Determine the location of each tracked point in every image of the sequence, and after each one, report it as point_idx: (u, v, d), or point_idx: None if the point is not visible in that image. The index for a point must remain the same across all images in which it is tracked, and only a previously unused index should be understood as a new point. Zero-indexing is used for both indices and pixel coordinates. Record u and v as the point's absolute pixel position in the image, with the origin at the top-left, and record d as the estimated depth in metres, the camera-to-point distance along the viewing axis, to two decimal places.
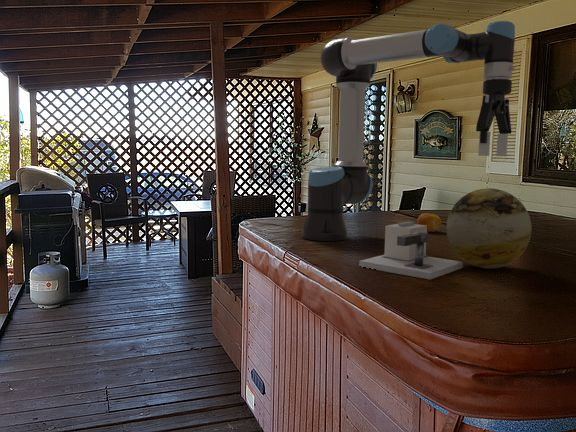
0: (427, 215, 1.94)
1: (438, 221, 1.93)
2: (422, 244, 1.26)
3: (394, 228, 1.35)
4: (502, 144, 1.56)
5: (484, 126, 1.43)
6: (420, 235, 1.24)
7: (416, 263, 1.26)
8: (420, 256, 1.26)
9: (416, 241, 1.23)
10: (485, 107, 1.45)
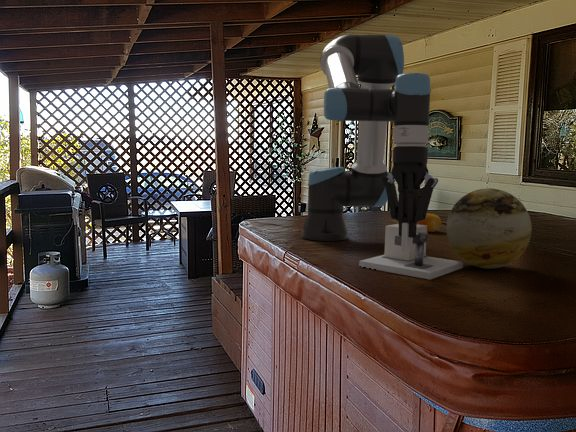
0: (427, 215, 1.94)
1: (438, 221, 1.93)
2: (422, 244, 1.26)
3: (394, 228, 1.35)
4: None
5: (392, 217, 1.21)
6: (419, 235, 1.24)
7: (415, 263, 1.27)
8: (420, 256, 1.26)
9: (415, 241, 1.23)
10: None
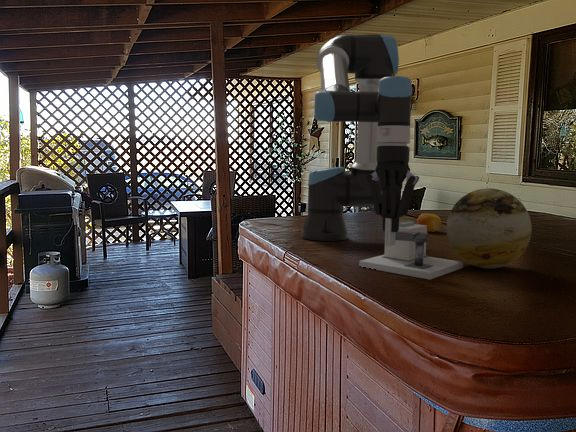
0: (427, 215, 1.94)
1: (438, 221, 1.93)
2: (417, 244, 1.26)
3: None
4: None
5: None
6: (411, 234, 1.26)
7: None
8: (415, 255, 1.26)
9: (403, 238, 1.27)
10: None
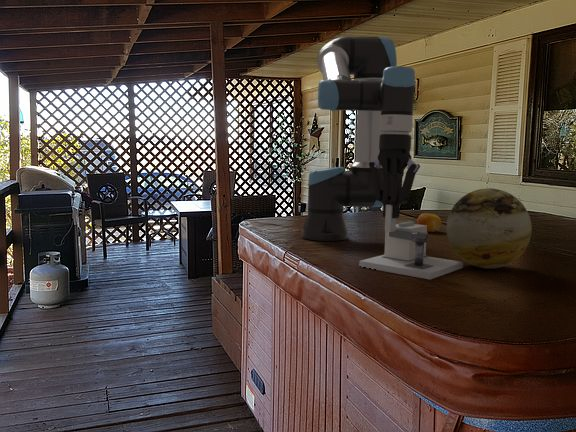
0: (427, 215, 1.94)
1: (438, 221, 1.93)
2: (416, 243, 1.26)
3: None
4: None
5: (377, 199, 1.31)
6: (411, 233, 1.27)
7: None
8: None
9: (405, 237, 1.29)
10: None
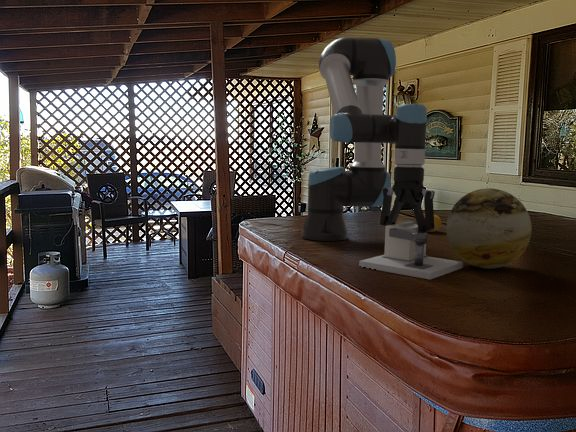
0: None
1: (438, 221, 1.93)
2: (416, 243, 1.26)
3: None
4: None
5: None
6: (411, 233, 1.27)
7: None
8: None
9: (405, 237, 1.29)
10: None
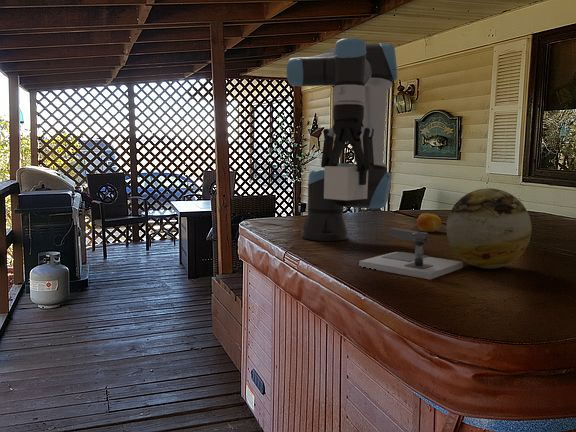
0: (427, 215, 1.94)
1: (438, 221, 1.93)
2: (416, 243, 1.26)
3: (333, 168, 1.30)
4: None
5: None
6: (411, 233, 1.27)
7: None
8: None
9: (405, 237, 1.29)
10: None
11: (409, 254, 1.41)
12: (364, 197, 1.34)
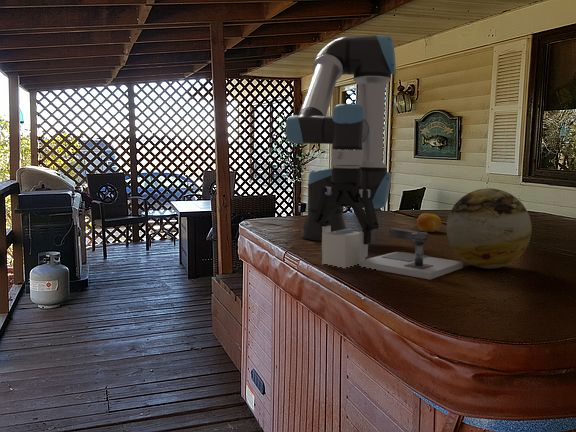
0: (427, 215, 1.94)
1: (438, 221, 1.93)
2: (416, 243, 1.26)
3: (331, 236, 1.32)
4: None
5: None
6: (411, 233, 1.27)
7: None
8: None
9: (405, 237, 1.29)
10: None
11: (409, 254, 1.41)
12: None
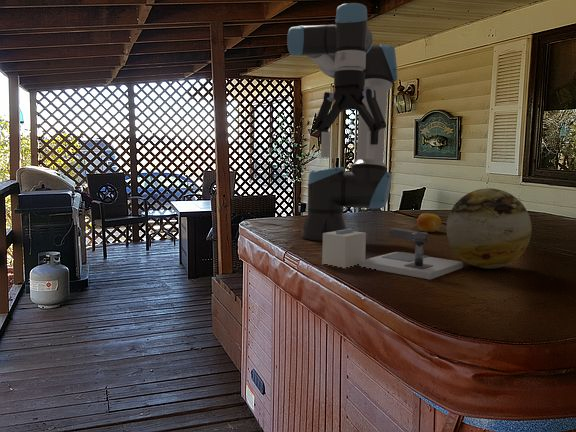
0: (427, 215, 1.94)
1: (438, 221, 1.93)
2: (416, 243, 1.26)
3: (331, 235, 1.32)
4: None
5: None
6: (411, 233, 1.27)
7: None
8: None
9: (405, 237, 1.29)
10: None
11: (409, 254, 1.41)
12: None
